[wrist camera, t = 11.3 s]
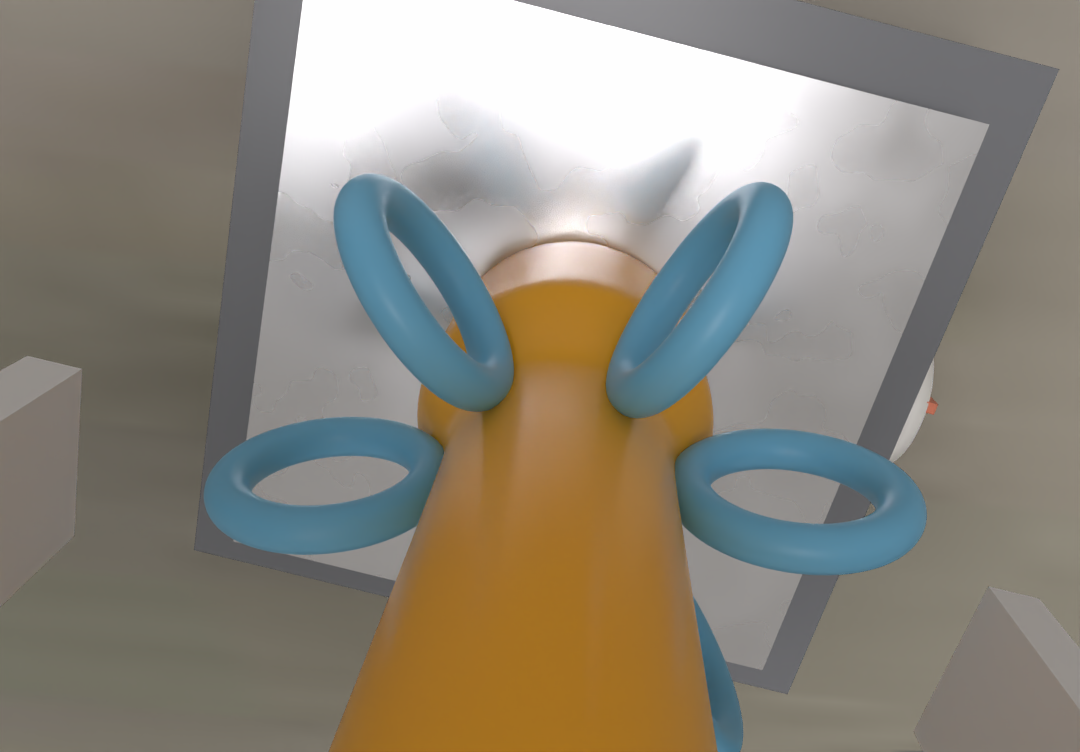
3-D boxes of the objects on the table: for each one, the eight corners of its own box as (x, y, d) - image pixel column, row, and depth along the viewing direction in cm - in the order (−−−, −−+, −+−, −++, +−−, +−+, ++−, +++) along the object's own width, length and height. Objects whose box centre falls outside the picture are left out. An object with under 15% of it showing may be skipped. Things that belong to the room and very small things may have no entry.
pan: (294, 460, 28) (233, 541, 24) (369, -31, 23) (309, -53, 18) (735, 569, 29) (762, 670, 24) (911, 110, 23) (989, 124, 19)
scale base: (257, 472, 30) (194, 549, 25) (335, -100, 24) (269, -138, 19) (781, 600, 30) (814, 700, 26) (999, 73, 24) (1095, 78, 19)
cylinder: (854, 137, 19) (1580, 397, 5) (803, 550, 23) (1128, 1376, 9) (305, 133, 20) (-440, 348, 6) (342, 533, 23) (-52, 1262, 9)
